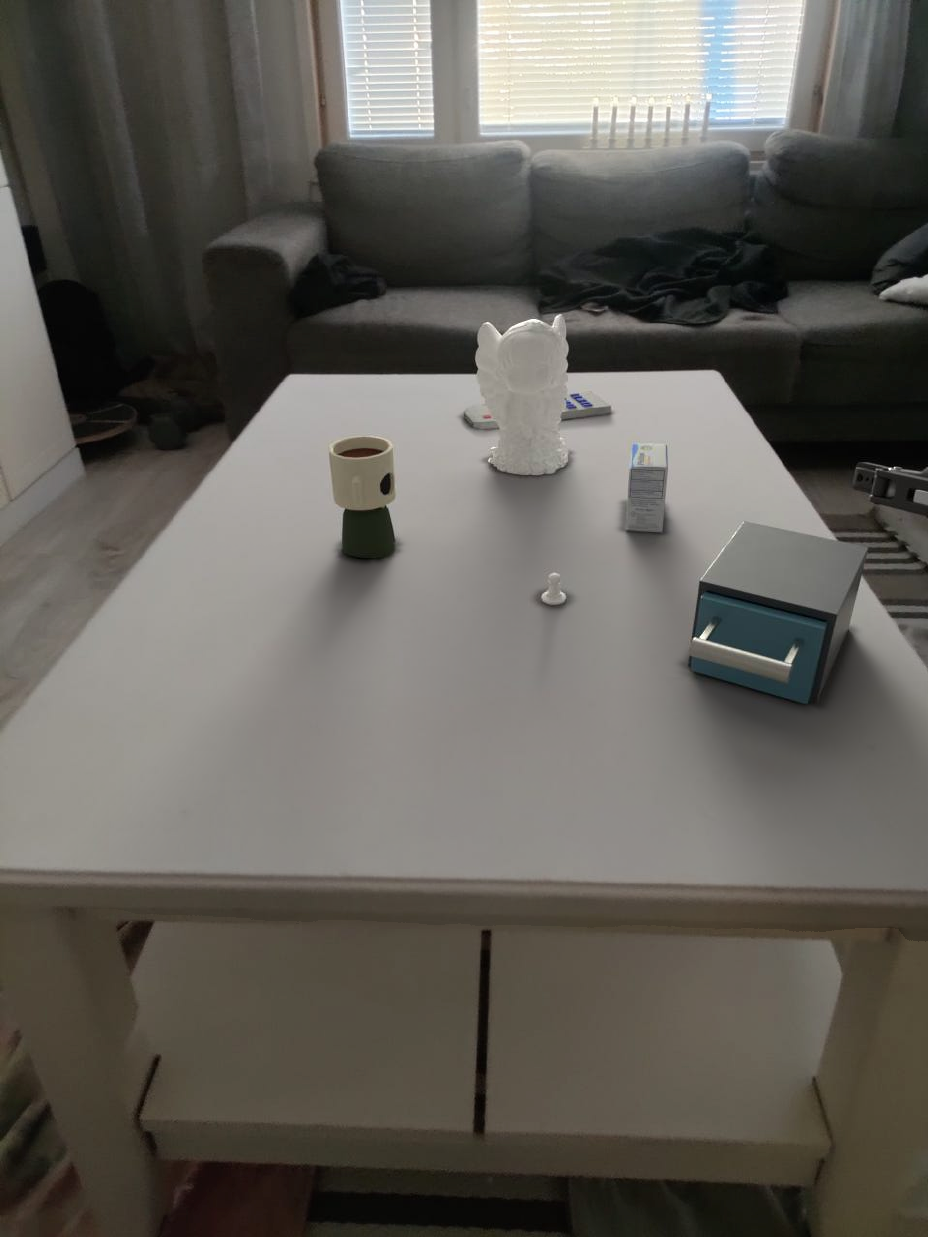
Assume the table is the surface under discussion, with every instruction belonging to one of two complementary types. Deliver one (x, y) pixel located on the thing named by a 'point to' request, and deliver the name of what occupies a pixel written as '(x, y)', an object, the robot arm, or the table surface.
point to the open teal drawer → (757, 646)
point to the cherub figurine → (525, 393)
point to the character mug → (364, 494)
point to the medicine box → (647, 487)
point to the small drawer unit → (791, 581)
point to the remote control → (575, 408)
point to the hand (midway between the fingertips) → (899, 476)
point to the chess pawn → (554, 591)
